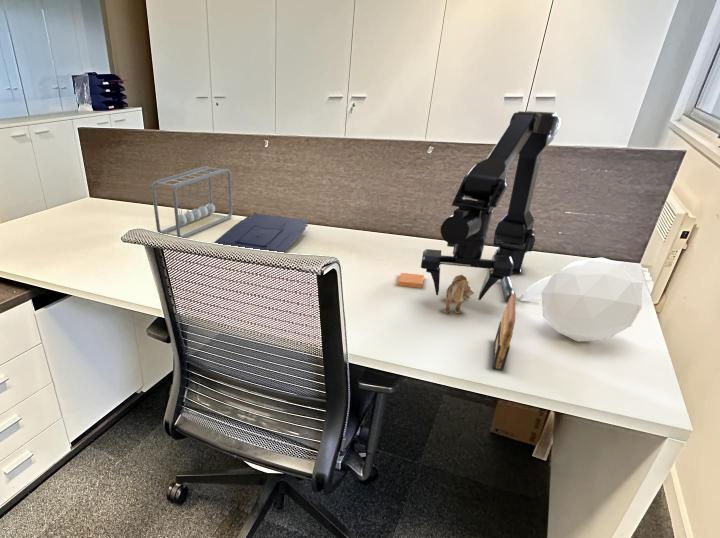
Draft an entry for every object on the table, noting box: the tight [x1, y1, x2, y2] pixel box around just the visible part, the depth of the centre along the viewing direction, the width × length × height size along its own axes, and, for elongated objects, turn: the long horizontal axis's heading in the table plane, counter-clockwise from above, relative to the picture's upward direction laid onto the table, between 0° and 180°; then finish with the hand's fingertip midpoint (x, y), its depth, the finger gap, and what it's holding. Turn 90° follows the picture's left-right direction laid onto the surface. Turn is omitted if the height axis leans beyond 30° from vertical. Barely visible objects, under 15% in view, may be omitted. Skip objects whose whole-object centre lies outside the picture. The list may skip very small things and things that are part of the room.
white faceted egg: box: [519, 257, 643, 342], centre depth 104 cm, size 16×22×28 cm
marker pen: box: [500, 277, 517, 303], centre depth 121 cm, size 2×13×2 cm
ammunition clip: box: [491, 292, 516, 371], centre depth 94 cm, size 11×2×12 cm, turn 155°
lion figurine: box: [443, 274, 475, 314], centre depth 114 cm, size 15×5×9 cm, turn 162°
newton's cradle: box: [151, 165, 233, 239], centre depth 170 cm, size 30×10×18 cm, turn 144°
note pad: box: [397, 272, 425, 289], centre depth 128 cm, size 6×6×1 cm
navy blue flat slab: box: [213, 212, 309, 253], centre depth 158 cm, size 24×30×4 cm
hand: (457, 296), depth 114 cm, fingers open, 9 cm apart
